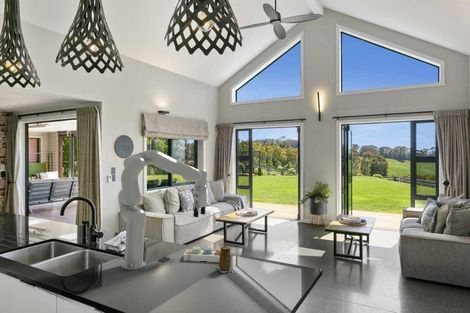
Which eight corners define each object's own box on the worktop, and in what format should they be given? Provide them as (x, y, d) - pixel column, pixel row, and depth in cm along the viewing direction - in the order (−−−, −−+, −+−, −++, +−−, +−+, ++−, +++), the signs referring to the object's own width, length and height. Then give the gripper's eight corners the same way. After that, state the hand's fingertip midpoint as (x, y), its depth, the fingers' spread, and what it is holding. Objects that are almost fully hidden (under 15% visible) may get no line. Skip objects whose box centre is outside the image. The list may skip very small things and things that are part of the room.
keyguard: (226, 262, 174) (226, 255, 174) (183, 260, 174) (183, 253, 174) (227, 257, 184) (227, 250, 184) (186, 255, 184) (186, 248, 184)
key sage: (199, 255, 177) (199, 249, 177) (192, 254, 177) (192, 249, 177) (200, 252, 181) (200, 247, 181) (193, 252, 181) (193, 246, 181)
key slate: (211, 255, 177) (211, 250, 177) (203, 255, 177) (204, 249, 177) (211, 253, 181) (212, 247, 181) (204, 253, 181) (204, 247, 181)
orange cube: (222, 256, 177) (223, 250, 177) (215, 256, 177) (215, 250, 177) (223, 254, 181) (223, 248, 181) (215, 253, 181) (216, 247, 181)
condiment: (228, 267, 167) (229, 246, 167) (233, 273, 159) (234, 250, 159) (216, 268, 165) (217, 246, 165) (220, 274, 157) (221, 251, 157)
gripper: (199, 190, 179) (198, 218, 179) (211, 188, 195) (210, 213, 195) (188, 189, 181) (187, 217, 182) (201, 187, 198) (200, 212, 198)
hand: (199, 215), depth 188 cm, fingers open, 9 cm apart
